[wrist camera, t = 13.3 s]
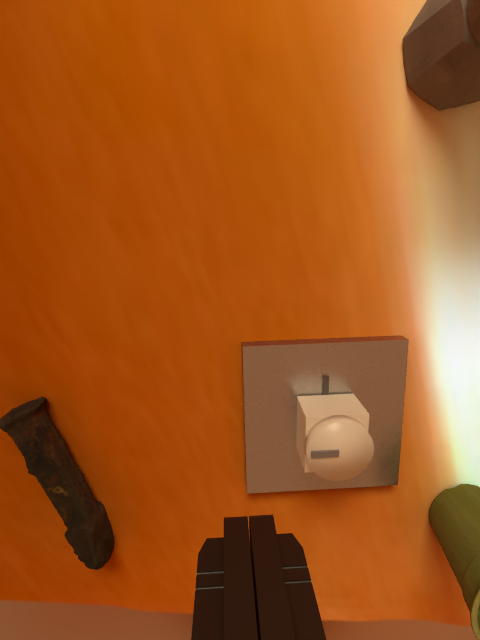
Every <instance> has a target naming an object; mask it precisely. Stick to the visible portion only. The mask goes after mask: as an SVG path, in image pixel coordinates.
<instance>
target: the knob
mask: <svg viewBox="0 0 480 640" xmlns="http://www.w3.org/2000/svg"><path fill="white" fill-rule="evenodd" d="M368 428H369V413H368V412H367V411H366V409H365V408H364V407H363V405H362V404H361V403H360V401H359V400H358V399H357V397H356V396H355V395H354V394H334V395H313V396H297V429H296V447H297V450H298V453H299V456H300V459H301V462H302V465H303V469H304V472H305V473H307V472H315V473H316V474H317V475H319V476H320V477H322V478H324V479H327V480H331V481H343V480H348V479H351V478H353V477H355V476H357V475H359V474H360V473H361V472H363V471H364V470H365V469H366V468H367V466H368V465H369V464H370V462H371V460H372V457H373V454H374V444H373V440H372V438H371V436H370V434H369V433H368Z"/></svg>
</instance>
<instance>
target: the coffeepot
mask: <svg viewBox="0 0 480 640" xmlns="http://www.w3.org/2000/svg"><path fill="white" fill-rule="evenodd" d="M403 57H404V68H405V73H406V77H407V82H408V86H409V87H410V88H411V89H412V90H413V91H414V92H415V93H416V94H417V95H418V96H419V97H420V98H421V99H422V100H424V101H426V102H427V103H429V104H431V105H433V106H435V107H436V108H437V109H439V110H443V109H447V108H452V107H458V106H461V105H464V104H468V103H472V102H477V101H480V0H427V1H426V3H425V5H424V6H423V8H422V9H421V11H420V12H419V14H418V15H417V17H416V18H415V20H414V22H413V23H412V25H411V27H410V28H409V30H408V32H407V33H406V35H405V36H404V38H403Z"/></svg>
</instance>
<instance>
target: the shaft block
mask: <svg viewBox="0 0 480 640" xmlns="http://www.w3.org/2000/svg"><path fill="white" fill-rule="evenodd" d="M408 341H409V340H408V339H406V338H405V337H403V336H379V337H355V338H330V339H306V340H282V341H257V342H242V363H243V396H244V429H245V462H246V488H247V494H248V493H266V492H284V491H302V490H320V489H338V488H356V487H373V486H391V485H398V475H399V461H400V448H401V435H402V421H403V408H404V394H405V381H406V368H407V354H408ZM334 394H354V395H355V396H356V397H357V399H358V400H359V401H360V403H361V404H362V405H363V407H364V408H365V409H366V411H367V412H368V413H369V428H368V433H369V434H370V436H371V438H372V440H373V444H374V454H373V457H372V460H371V462H370V464H369V465H368V466H367V468H366V469H365V470H364V471H363V472H361V473H360V474H359V475H357V476H355V477H353V478H351V479H348V480H343V481H331V480H327V479H324V478H322V477H320V476H319V475H317V474H316V473H315V472H307V473H305V472H304V469H303V465H302V462H301V459H300V456H299V453H298V450H297V447H296V429H297V396H313V395H334Z"/></svg>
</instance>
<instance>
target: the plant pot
mask: <svg viewBox="0 0 480 640" xmlns="http://www.w3.org/2000/svg"><path fill="white" fill-rule="evenodd" d="M429 518H430V523H431V526H432V528H433V530H434V533H435V535H436V537H437V539H438V541H439V543H440V545H441V547H442V549H443V551H444V553H445V555H446V557H447V560H448V562H449V564H450V566H451V568H452V570H453V572H454V574H455V576H456V578H457V580H458V582H459V585H460V587H461V589H462V592H463V597H464V600H465V602H466V604H467V607H468V609H469V611H470V619H471V626H472V629H473V631H474V634H475V636H476V638H477V639H478V640H480V487H478V486H475V485H470V484H461V485H459V486H457V487H455V488H451V489H446V490H444V491H443V492H442V493H440V494H439V495H438V496H437V497H436V498H435V500H434V501H433V503H432V505H431V507H430V511H429Z"/></svg>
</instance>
